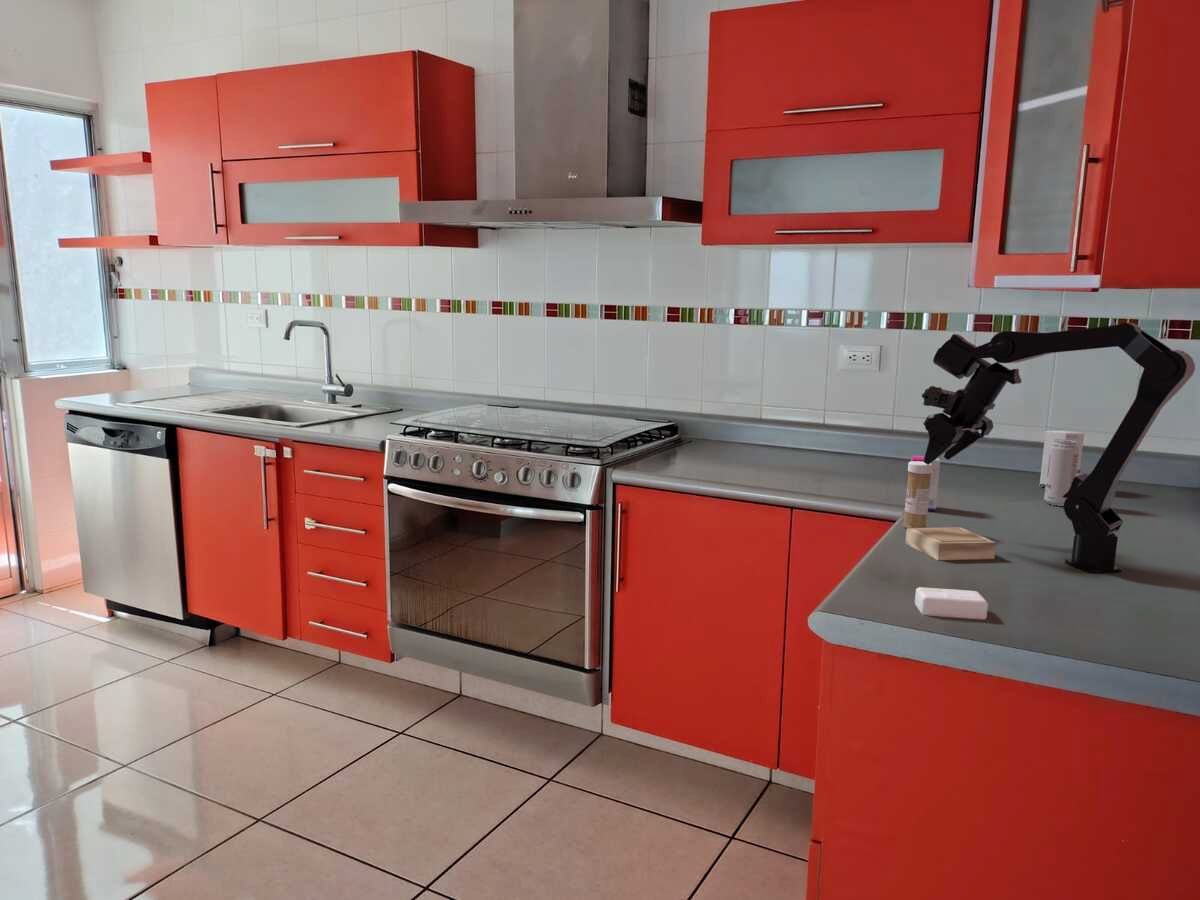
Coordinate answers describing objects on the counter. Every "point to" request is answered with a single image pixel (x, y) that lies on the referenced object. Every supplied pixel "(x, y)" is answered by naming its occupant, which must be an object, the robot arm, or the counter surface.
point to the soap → (951, 603)
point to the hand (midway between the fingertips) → (936, 460)
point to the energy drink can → (1061, 469)
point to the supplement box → (931, 481)
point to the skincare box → (1049, 440)
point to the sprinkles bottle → (917, 494)
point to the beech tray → (950, 543)
